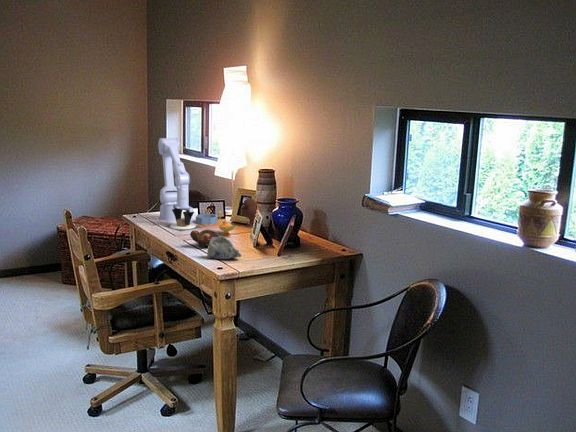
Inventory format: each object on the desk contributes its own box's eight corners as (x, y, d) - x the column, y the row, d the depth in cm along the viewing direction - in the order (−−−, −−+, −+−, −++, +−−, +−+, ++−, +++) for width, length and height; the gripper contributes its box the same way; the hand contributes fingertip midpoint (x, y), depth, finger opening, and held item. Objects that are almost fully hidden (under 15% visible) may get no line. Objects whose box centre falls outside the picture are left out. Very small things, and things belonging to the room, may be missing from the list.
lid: (165, 226, 295) (164, 218, 295) (185, 222, 305) (185, 215, 304) (180, 230, 287) (180, 222, 286) (201, 227, 296) (201, 219, 295)
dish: (192, 223, 307) (192, 215, 306) (208, 220, 315) (208, 213, 314) (205, 226, 299) (205, 219, 299) (221, 223, 307) (221, 216, 306)
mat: (163, 227, 296) (163, 226, 296) (185, 223, 306) (185, 222, 306) (180, 232, 286) (180, 231, 286) (203, 228, 296) (203, 227, 296)
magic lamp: (231, 240, 274) (231, 217, 271) (212, 232, 288) (212, 210, 286) (243, 238, 278) (244, 216, 276) (224, 230, 292) (224, 209, 290)
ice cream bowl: (261, 228, 298) (261, 200, 295) (239, 228, 298) (239, 199, 295) (262, 224, 308) (262, 196, 305) (241, 223, 308) (241, 196, 305)
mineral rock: (242, 260, 241) (243, 237, 239) (221, 265, 234) (221, 241, 232) (224, 253, 251) (224, 231, 249) (204, 257, 244) (204, 234, 242)
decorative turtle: (187, 245, 263) (188, 227, 261) (220, 245, 268) (221, 228, 267) (192, 249, 254) (193, 231, 253) (225, 249, 259) (226, 232, 258)
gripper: (167, 196, 295) (168, 222, 297) (185, 200, 285) (185, 227, 288) (179, 194, 300) (179, 220, 302) (196, 198, 290) (196, 225, 293)
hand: (183, 223), depth 295 cm, fingers open, 7 cm apart
